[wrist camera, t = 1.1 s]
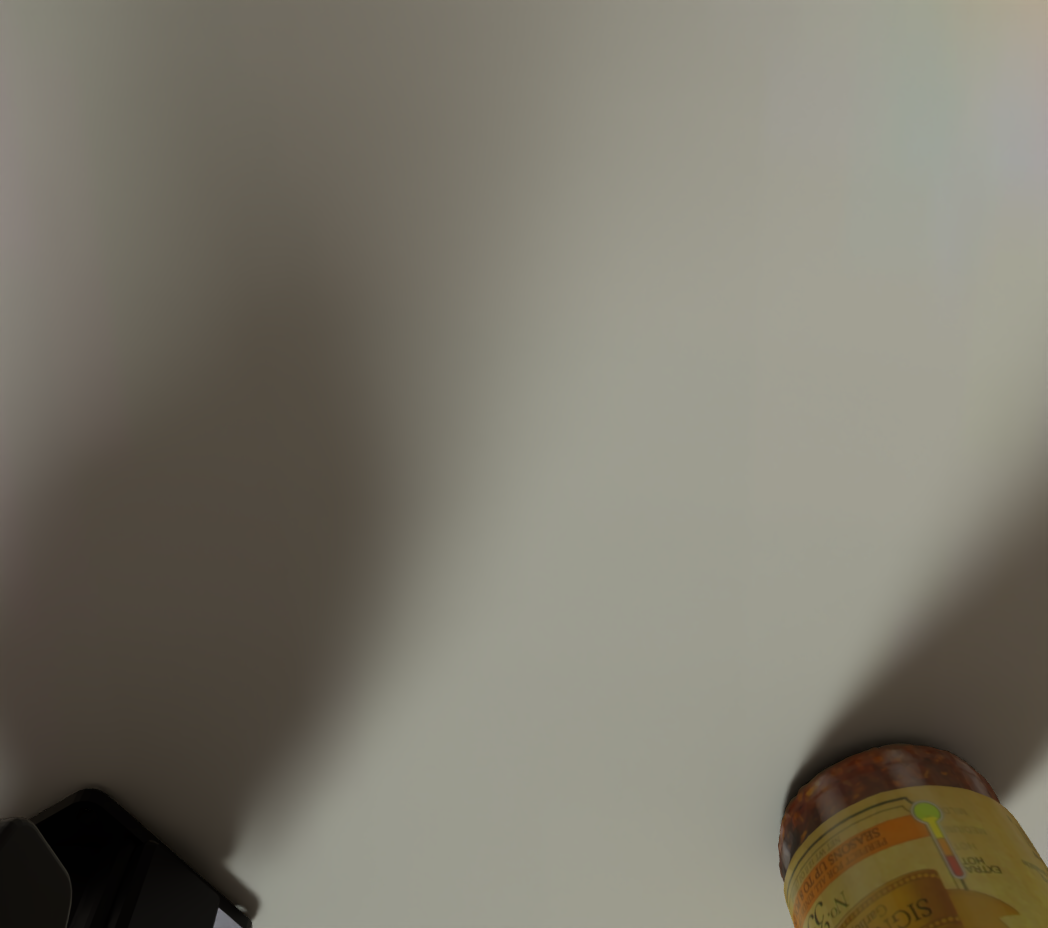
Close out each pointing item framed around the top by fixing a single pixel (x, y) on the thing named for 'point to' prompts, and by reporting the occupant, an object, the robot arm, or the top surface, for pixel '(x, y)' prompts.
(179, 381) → the top surface
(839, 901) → the sauce bottle
